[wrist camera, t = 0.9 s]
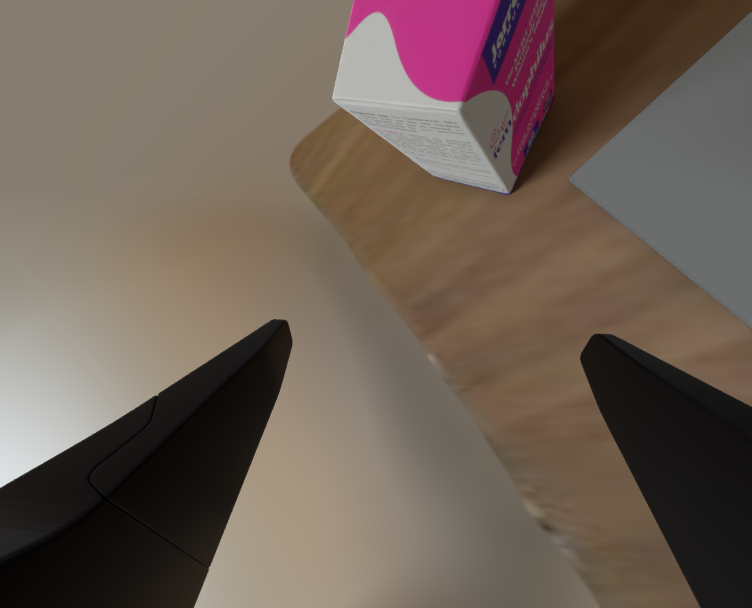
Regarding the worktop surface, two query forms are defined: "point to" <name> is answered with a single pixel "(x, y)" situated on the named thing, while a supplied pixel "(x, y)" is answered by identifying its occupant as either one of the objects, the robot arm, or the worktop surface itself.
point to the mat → (690, 173)
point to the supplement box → (452, 82)
